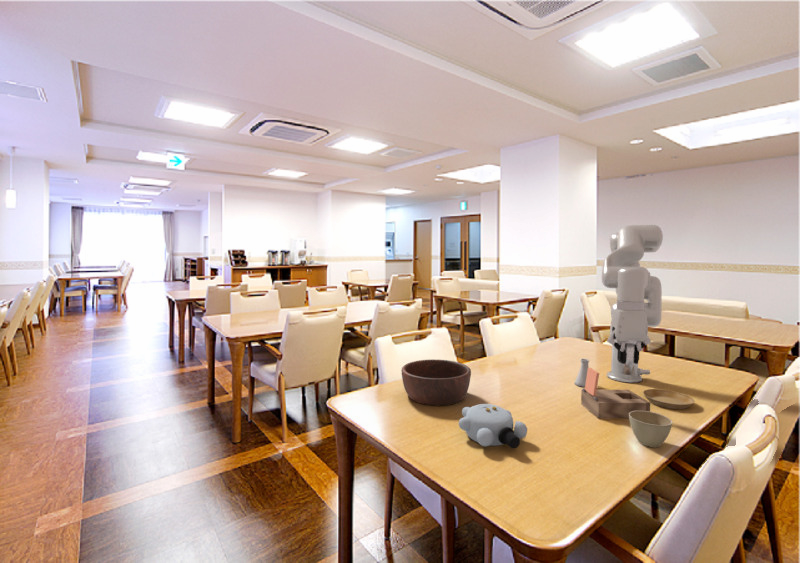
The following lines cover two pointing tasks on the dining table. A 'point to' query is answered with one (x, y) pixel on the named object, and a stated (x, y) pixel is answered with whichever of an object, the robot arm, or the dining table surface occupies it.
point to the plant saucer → (668, 398)
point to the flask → (582, 373)
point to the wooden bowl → (436, 381)
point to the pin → (629, 357)
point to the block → (613, 403)
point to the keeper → (591, 381)
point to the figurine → (491, 426)
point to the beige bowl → (650, 427)
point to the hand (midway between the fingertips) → (628, 362)
